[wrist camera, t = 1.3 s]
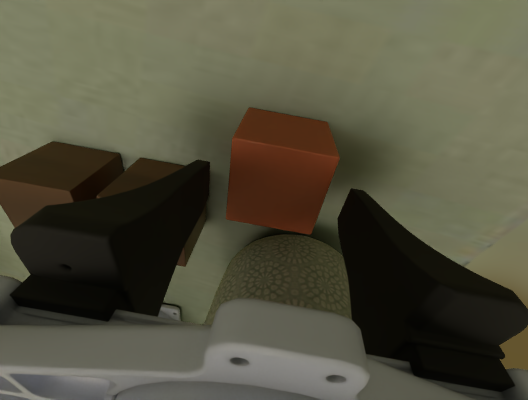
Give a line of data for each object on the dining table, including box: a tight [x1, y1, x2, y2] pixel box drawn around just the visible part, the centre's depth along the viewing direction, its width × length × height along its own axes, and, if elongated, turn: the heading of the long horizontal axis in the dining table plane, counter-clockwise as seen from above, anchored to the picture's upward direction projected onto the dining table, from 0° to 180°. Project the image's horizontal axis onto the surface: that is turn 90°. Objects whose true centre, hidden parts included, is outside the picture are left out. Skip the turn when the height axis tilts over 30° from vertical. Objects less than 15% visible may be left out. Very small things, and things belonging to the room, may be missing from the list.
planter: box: [204, 234, 352, 325], centre depth 19 cm, size 12×12×11 cm
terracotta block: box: [226, 108, 340, 235], centre depth 15 cm, size 5×5×5 cm
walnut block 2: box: [97, 158, 207, 267], centre depth 17 cm, size 5×5×5 cm
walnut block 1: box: [0, 142, 124, 228], centre depth 17 cm, size 5×5×5 cm
